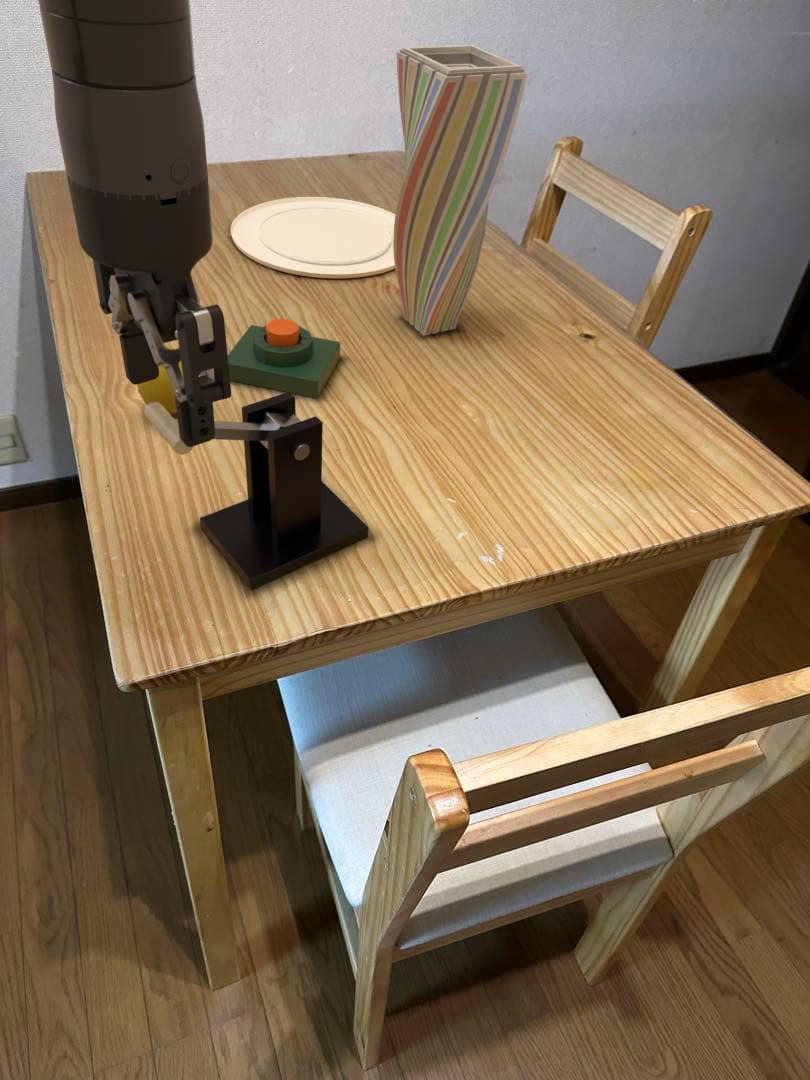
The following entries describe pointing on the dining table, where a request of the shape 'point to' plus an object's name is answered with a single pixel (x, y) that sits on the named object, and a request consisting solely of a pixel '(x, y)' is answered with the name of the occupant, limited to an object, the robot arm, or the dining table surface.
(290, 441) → the bracket
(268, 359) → the button box
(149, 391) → the lemon
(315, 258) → the plate
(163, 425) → the lever
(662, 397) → the dining table surface
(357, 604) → the dining table surface
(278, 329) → the button
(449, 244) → the vase
